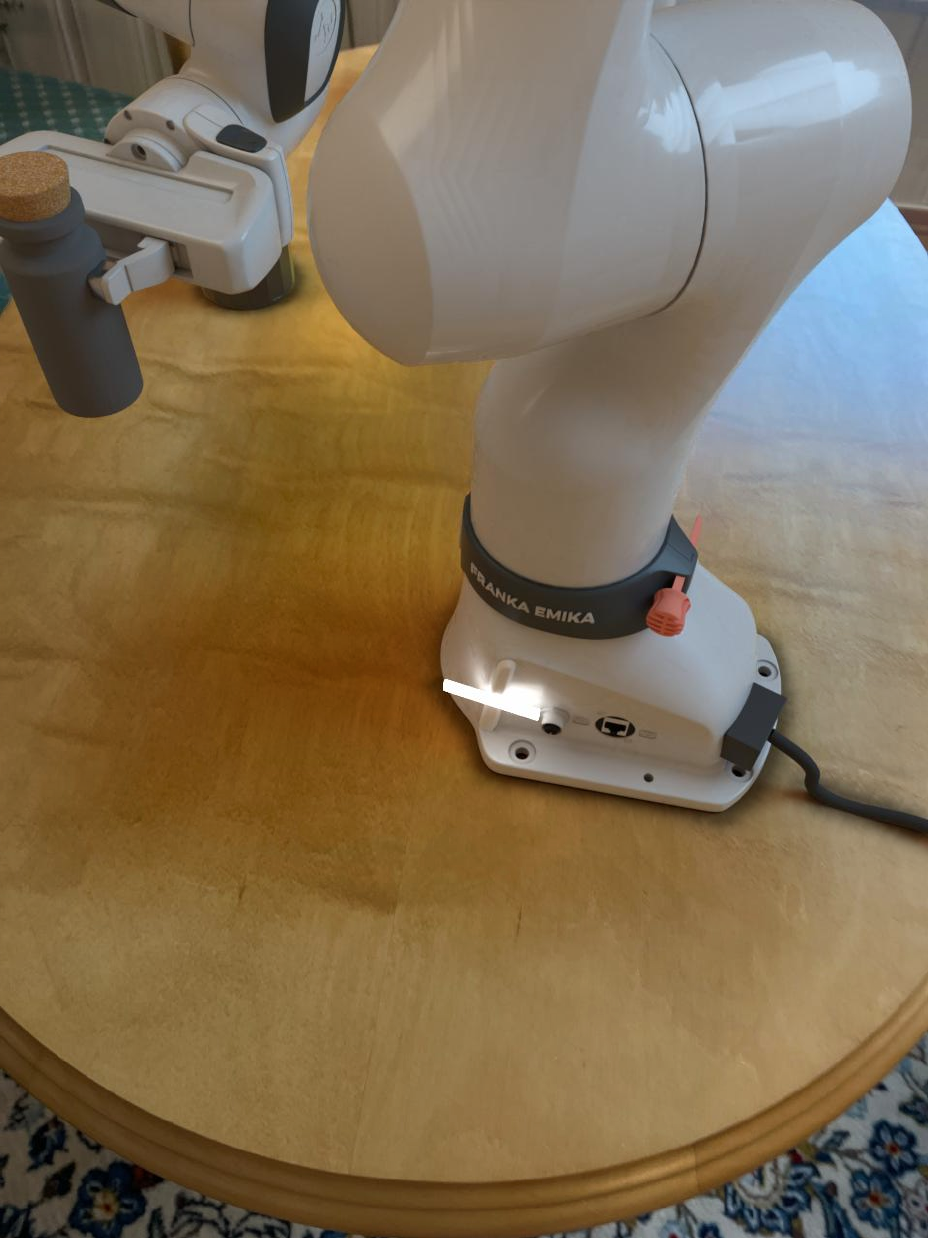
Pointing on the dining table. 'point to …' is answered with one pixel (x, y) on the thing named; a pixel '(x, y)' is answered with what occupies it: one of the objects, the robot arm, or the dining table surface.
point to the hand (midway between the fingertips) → (48, 277)
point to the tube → (261, 287)
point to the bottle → (63, 288)
